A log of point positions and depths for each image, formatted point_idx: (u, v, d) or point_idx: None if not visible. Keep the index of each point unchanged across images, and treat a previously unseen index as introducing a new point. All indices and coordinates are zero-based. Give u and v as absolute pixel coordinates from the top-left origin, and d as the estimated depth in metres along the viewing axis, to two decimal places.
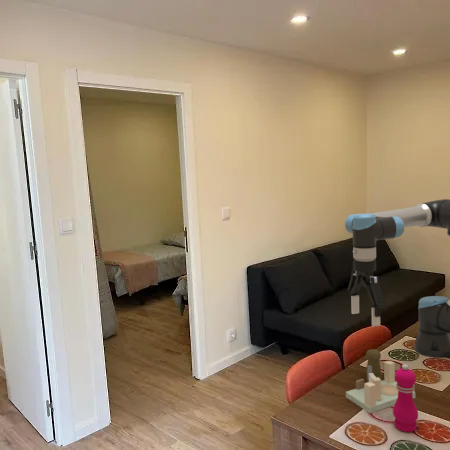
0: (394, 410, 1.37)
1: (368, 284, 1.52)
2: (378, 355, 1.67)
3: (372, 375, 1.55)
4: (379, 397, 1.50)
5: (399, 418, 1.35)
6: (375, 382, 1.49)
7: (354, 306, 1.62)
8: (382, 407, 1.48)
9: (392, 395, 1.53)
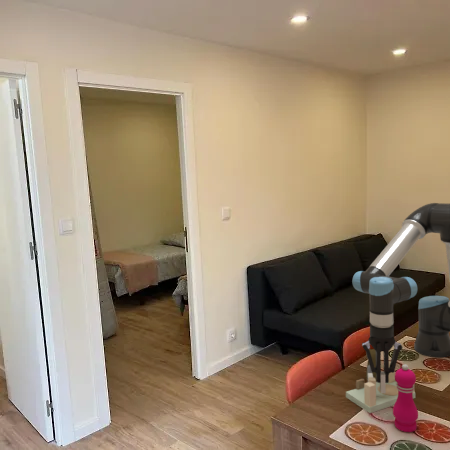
0: (394, 410, 1.37)
1: None
2: None
3: (370, 375, 1.55)
4: None
5: (399, 418, 1.35)
6: None
7: None
8: (382, 407, 1.48)
9: (392, 395, 1.53)
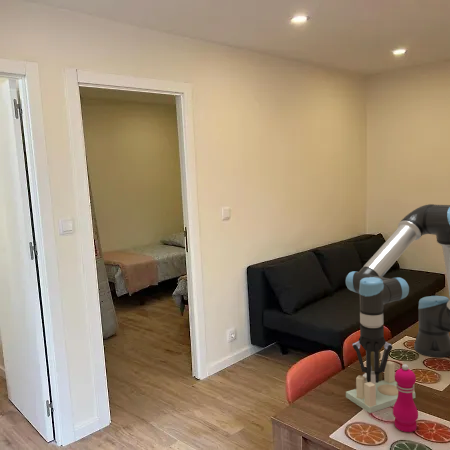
0: (394, 410, 1.37)
1: None
2: None
3: (365, 374, 1.56)
4: (360, 395, 1.52)
5: (399, 418, 1.35)
6: (357, 379, 1.52)
7: None
8: (382, 407, 1.48)
9: (392, 395, 1.53)
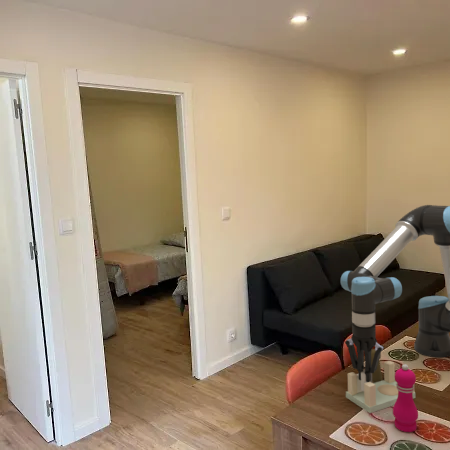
0: (394, 410, 1.37)
1: None
2: None
3: None
4: (350, 391, 1.55)
5: (399, 418, 1.35)
6: (348, 375, 1.55)
7: None
8: (382, 407, 1.48)
9: (392, 395, 1.53)
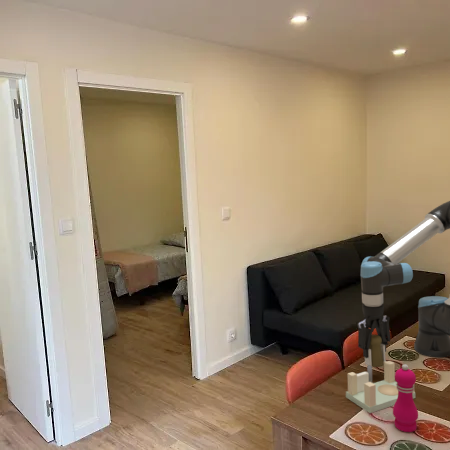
0: (394, 410, 1.37)
1: None
2: (379, 340, 1.66)
3: (362, 373, 1.57)
4: (350, 391, 1.55)
5: (399, 418, 1.35)
6: (348, 375, 1.55)
7: None
8: (382, 407, 1.48)
9: (392, 395, 1.53)
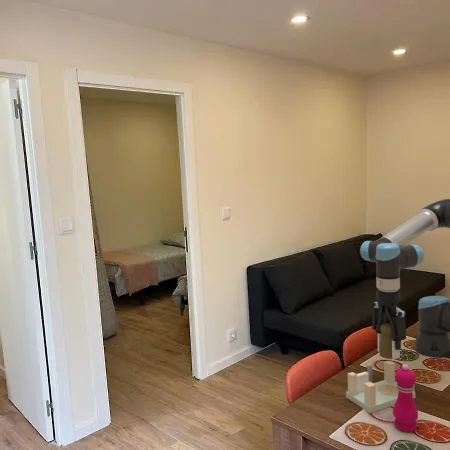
0: (394, 410, 1.37)
1: None
2: None
3: (362, 373, 1.57)
4: (350, 391, 1.55)
5: (399, 418, 1.35)
6: (348, 375, 1.55)
7: None
8: (382, 407, 1.48)
9: (392, 395, 1.53)
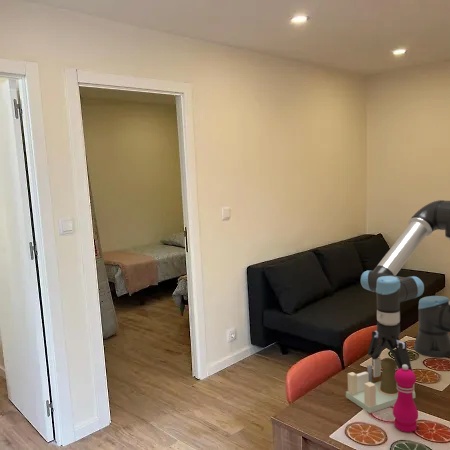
0: (394, 410, 1.37)
1: (393, 347, 1.52)
2: None
3: (362, 373, 1.57)
4: (350, 391, 1.55)
5: (399, 418, 1.35)
6: (348, 375, 1.55)
7: (377, 369, 1.61)
8: (382, 407, 1.48)
9: (392, 395, 1.53)
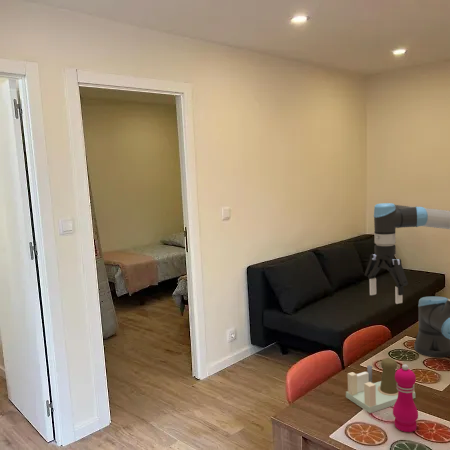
0: (394, 410, 1.37)
1: (390, 266, 1.69)
2: None
3: (362, 373, 1.57)
4: (350, 391, 1.55)
5: (399, 418, 1.35)
6: (348, 375, 1.55)
7: (372, 288, 1.78)
8: (382, 407, 1.48)
9: (392, 395, 1.53)
